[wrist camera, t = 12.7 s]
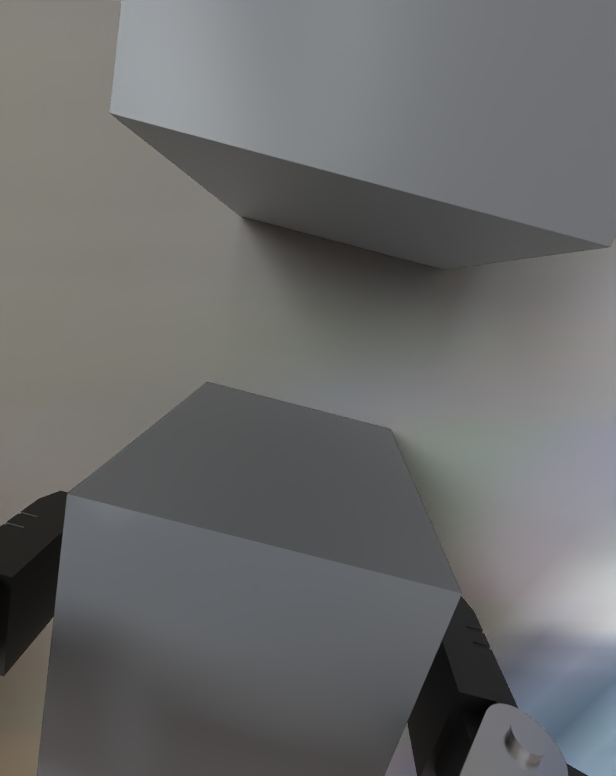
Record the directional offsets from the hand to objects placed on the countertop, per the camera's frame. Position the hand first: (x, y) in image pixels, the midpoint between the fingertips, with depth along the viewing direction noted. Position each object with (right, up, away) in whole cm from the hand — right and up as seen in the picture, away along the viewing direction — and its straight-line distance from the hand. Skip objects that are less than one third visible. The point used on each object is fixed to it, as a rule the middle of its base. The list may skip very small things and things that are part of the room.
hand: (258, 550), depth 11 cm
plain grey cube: (0, +1, +3) cm, 3 cm away
